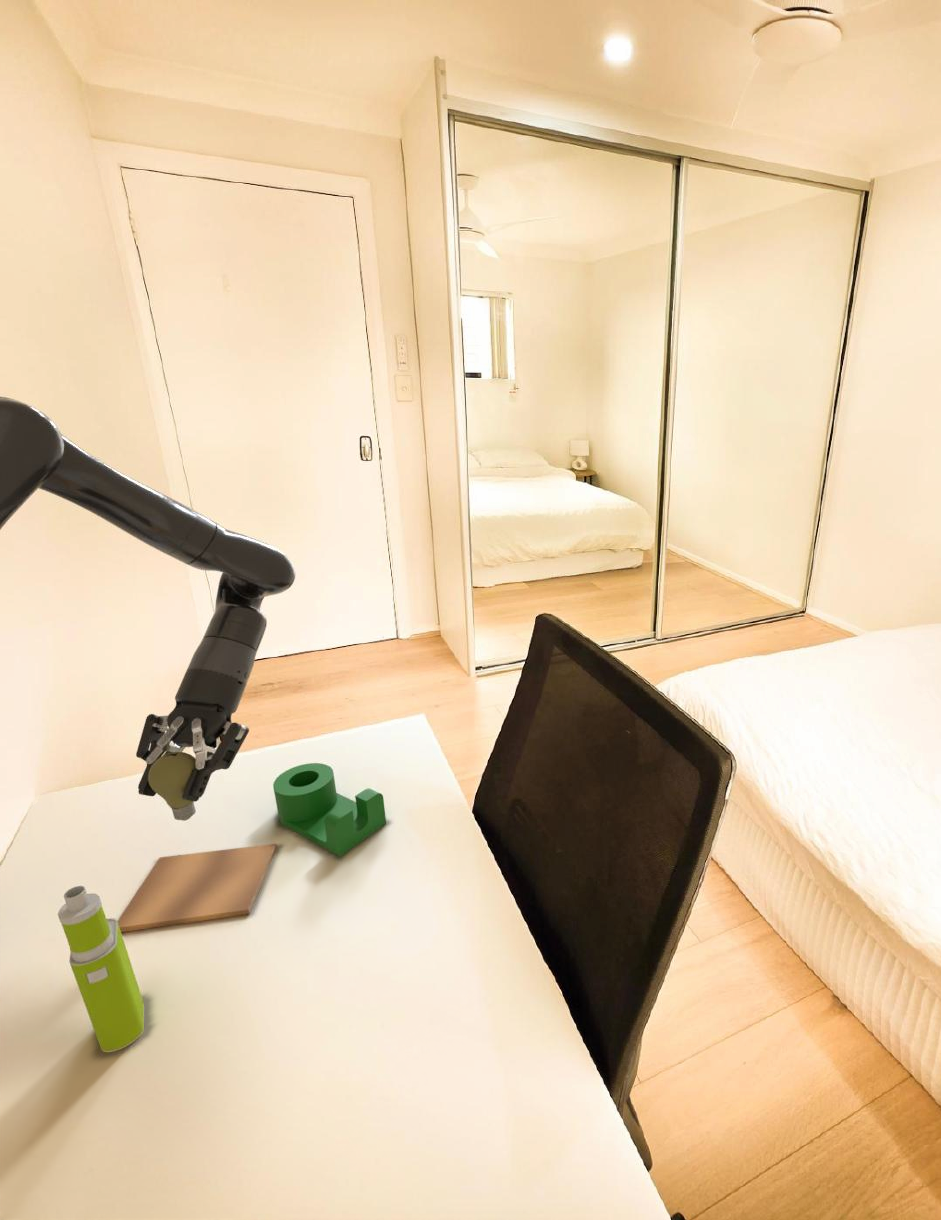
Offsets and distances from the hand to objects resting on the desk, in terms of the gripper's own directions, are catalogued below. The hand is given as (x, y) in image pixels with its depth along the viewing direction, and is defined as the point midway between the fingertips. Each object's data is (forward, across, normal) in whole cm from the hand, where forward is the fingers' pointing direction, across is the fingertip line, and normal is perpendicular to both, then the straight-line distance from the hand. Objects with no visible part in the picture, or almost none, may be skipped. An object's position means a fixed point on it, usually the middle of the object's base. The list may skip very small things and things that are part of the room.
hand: (168, 797), depth 78 cm
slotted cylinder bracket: (-1, +8, +25) cm, 27 cm away
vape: (+24, +6, 0) cm, 25 cm away
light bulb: (+2, 0, +5) cm, 5 cm away
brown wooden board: (+11, 0, +14) cm, 17 cm away
